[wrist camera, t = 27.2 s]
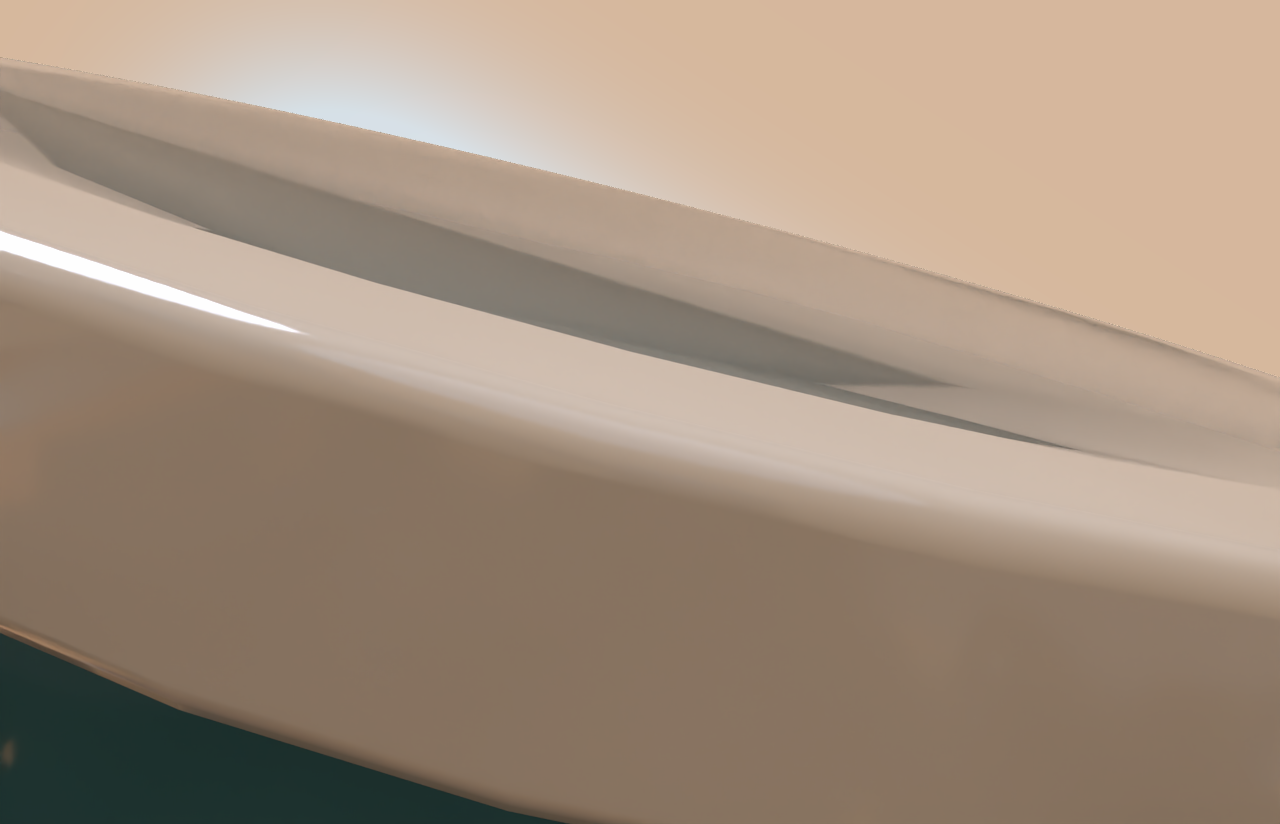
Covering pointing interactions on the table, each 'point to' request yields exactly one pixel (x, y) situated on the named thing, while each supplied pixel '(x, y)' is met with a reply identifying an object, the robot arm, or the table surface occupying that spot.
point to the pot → (585, 505)
